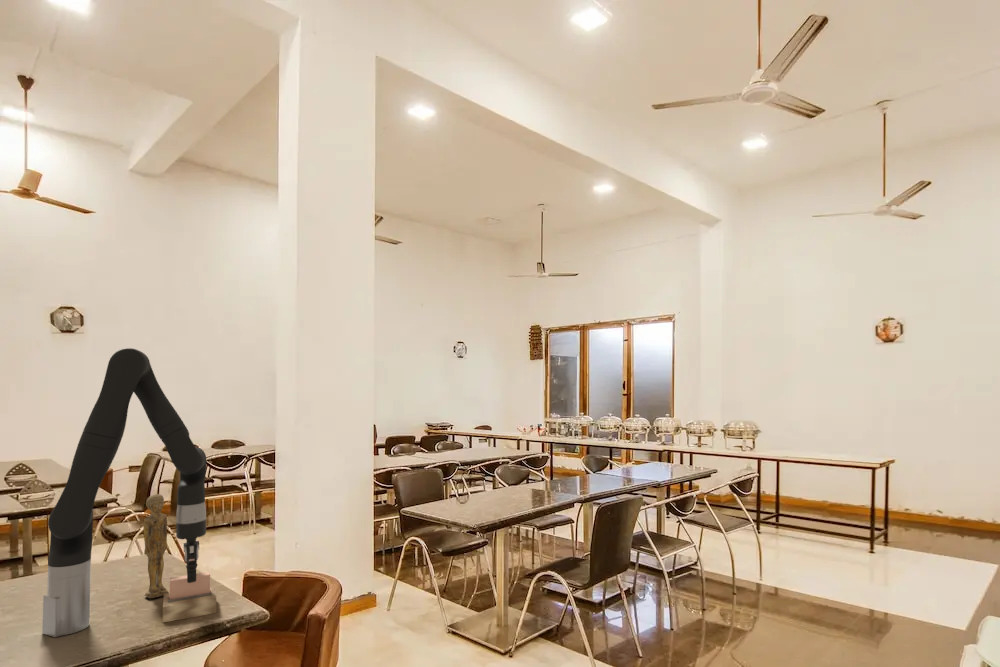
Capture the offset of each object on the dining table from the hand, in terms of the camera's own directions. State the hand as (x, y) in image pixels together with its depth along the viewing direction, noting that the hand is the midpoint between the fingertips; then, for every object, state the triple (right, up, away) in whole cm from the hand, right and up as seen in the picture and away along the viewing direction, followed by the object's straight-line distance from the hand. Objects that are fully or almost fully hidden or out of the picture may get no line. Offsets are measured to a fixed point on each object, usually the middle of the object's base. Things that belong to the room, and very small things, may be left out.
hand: (191, 577), depth 170 cm
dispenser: (0, -9, -1) cm, 9 cm away
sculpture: (-16, -10, +11) cm, 22 cm away
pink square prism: (0, -9, -1) cm, 9 cm away
